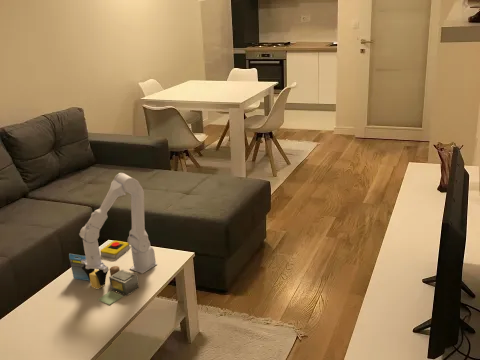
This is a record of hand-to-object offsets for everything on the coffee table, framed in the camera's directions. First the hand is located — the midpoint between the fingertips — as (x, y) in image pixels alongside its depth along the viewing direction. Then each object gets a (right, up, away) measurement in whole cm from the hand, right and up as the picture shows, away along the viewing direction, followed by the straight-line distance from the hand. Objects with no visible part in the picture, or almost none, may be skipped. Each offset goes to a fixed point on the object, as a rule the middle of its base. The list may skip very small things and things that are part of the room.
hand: (97, 282), depth 217 cm
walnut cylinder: (+7, 0, +3) cm, 8 cm away
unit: (+12, -2, -3) cm, 13 cm away
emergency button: (+1, +8, +28) cm, 29 cm away
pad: (+8, -5, -9) cm, 13 cm away
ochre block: (0, -1, +1) cm, 2 cm away
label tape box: (-8, 0, +7) cm, 10 cm away
